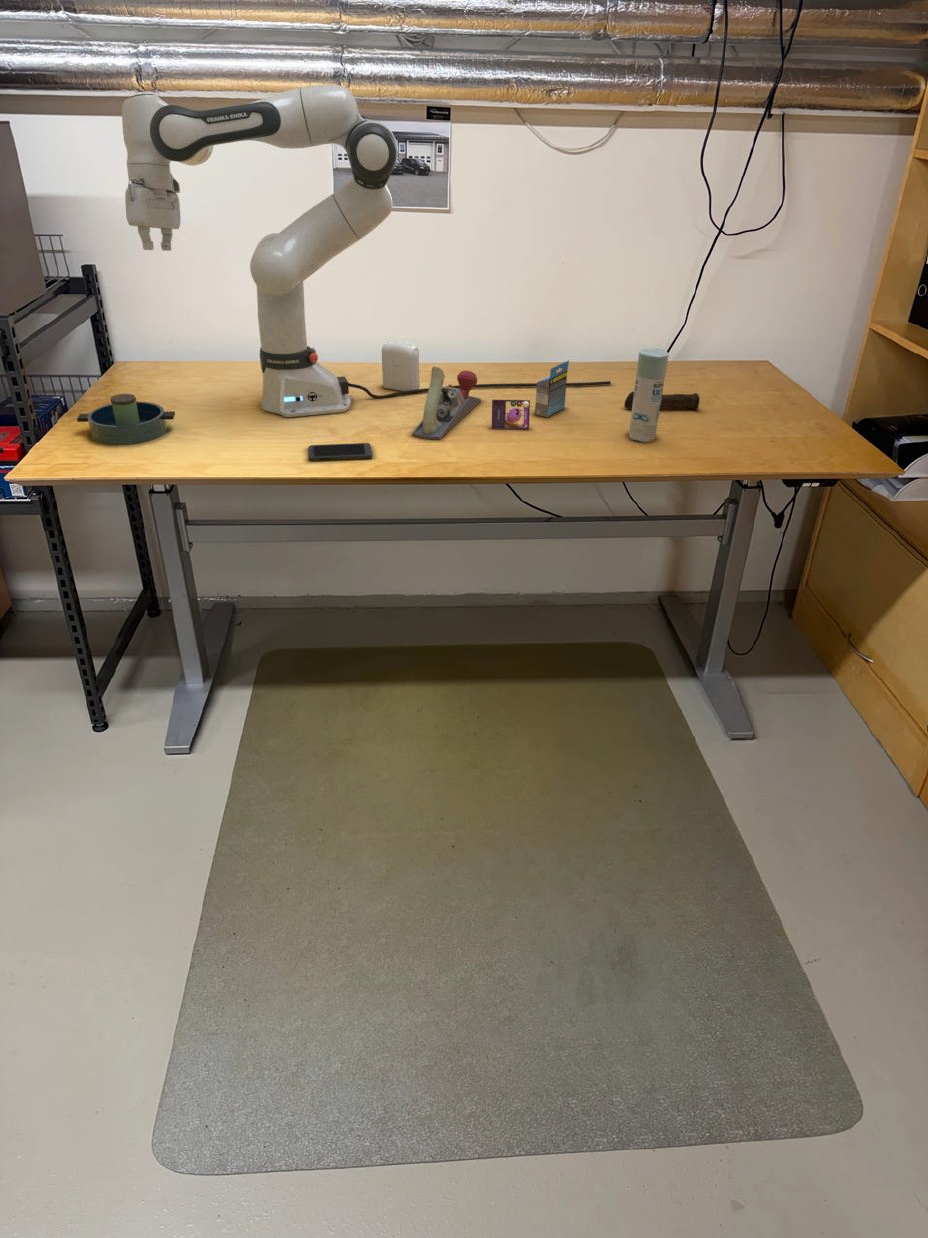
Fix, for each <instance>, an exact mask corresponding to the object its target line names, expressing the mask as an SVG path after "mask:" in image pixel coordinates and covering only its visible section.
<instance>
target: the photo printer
mask: <svg viewBox="0 0 928 1238" xmlns="http://www.w3.org/2000/svg"><path fill="white" fill-rule="evenodd" d="M381 370H382V387H383V388H385V389H390V390H395V391H399V392H402V391H410V390H417V389H420V385H421V383H420V352H419V349H418V347H417V346H415V345H413V344H411V343H408V342H405V341H400V340H393V341H388V342H385V343H383V344H382V347H381Z"/></svg>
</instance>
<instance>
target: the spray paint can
mask: <svg viewBox="0 0 928 1238" xmlns="http://www.w3.org/2000/svg"><path fill="white" fill-rule="evenodd" d="M637 359H638V360H637V366H636V374H635V383H634V390H633V391H634V397H633V405H632V409H631V412H630V413H631V414H630V422H629V429H628V438H629V439H630V440H632V441H635V442H639V443H649V442H653V441H654V440H655V439H656V436H657V435H656V434H657V428H658V423H659V417H660V410H661V408H660V405H661V398H662V395H663V391H664V385H665V380H666V374H667V373H666V372H667V367H668V360H669V352H668V351H666V350H663V349H660V348H642V349H640V350H639V352H638V357H637Z"/></svg>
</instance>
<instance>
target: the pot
mask: <svg viewBox="0 0 928 1238" xmlns="http://www.w3.org/2000/svg"><path fill="white" fill-rule="evenodd" d="M136 404H137V409H138V415H139V420H140V423H138V424H133V425H124V426H116V421H115V417H114V412H113V407H112V403H109V404H105V405H102V406H99V407H97V408H95V409H93V410H91V411H90V412H89V413H88V414H89V415H88V416H87V418H88V427H89V431H90V436H91V439H93V441H95V442H97V443H100V444H104V445H109V446H131V445H140V444H144V443H147V442H152V441H154V440H157V439H159V438H161V437H163V436H164V435H165V434H166V433H167V431H168V424H167V423H168V422H167V420H164V419H163V415H164V413H165V412H166V411H165V409H164V407H163V406H161V405H160V404H157V403H154V402H149V401H140V400H139V401H137V400H136Z"/></svg>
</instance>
